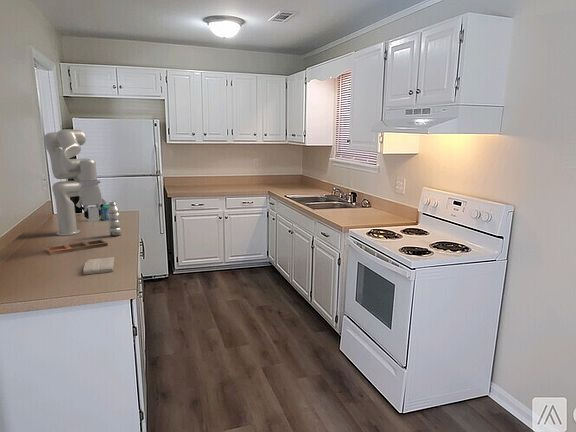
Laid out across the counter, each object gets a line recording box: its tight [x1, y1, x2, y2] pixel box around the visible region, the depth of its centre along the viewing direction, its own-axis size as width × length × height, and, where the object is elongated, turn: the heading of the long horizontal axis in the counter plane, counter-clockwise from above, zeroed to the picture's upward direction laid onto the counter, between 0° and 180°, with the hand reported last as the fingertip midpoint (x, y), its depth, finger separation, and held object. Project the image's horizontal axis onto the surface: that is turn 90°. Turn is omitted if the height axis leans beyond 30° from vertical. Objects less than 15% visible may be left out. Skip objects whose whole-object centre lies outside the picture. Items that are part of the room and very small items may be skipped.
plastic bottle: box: [107, 201, 122, 237], centre depth 237 cm, size 6×7×20 cm
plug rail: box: [45, 238, 109, 256], centre depth 212 cm, size 11×27×2 cm, turn 130°
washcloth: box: [83, 256, 116, 276], centre depth 179 cm, size 12×18×3 cm, turn 21°
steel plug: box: [86, 205, 101, 223], centre depth 214 cm, size 5×5×7 cm
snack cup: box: [99, 203, 110, 221], centre depth 287 cm, size 16×10×10 cm
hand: (92, 217), depth 214 cm, fingers closed on steel plug, 5 cm apart
